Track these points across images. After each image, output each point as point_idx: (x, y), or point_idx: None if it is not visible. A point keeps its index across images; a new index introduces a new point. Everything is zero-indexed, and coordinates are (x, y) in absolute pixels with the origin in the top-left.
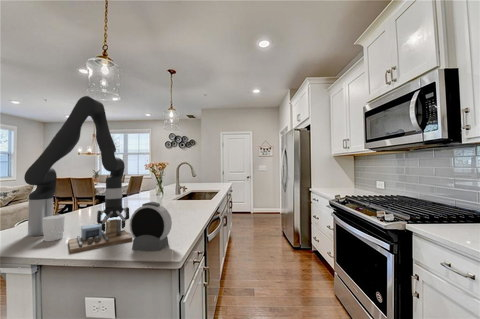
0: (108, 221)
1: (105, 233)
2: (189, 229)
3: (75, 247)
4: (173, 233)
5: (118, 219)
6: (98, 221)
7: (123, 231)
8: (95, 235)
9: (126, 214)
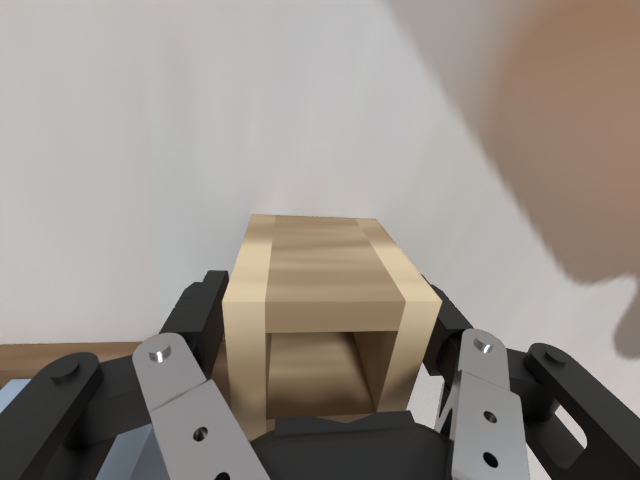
0: (251, 387)
1: (226, 366)
2: None
3: None
4: (539, 464)
5: (417, 347)
6: (73, 452)
7: None
8: None
9: (564, 470)
